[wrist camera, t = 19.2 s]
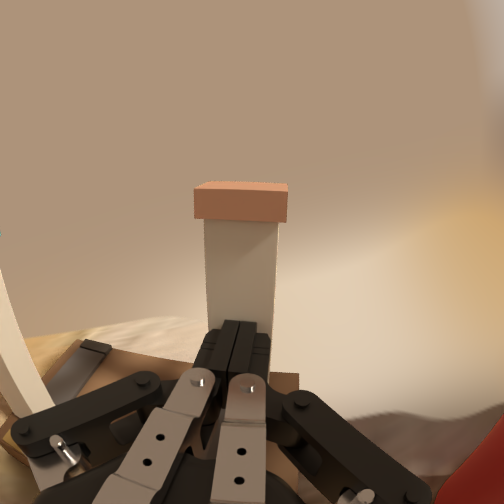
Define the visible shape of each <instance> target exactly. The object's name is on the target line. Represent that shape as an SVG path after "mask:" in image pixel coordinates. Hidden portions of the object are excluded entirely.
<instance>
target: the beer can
mask: <svg viewBox="0 0 504 504" xmlns="http://www.w3.org/2000/svg"><path fill="white" fill-rule="evenodd" d="M434 504H504V414H503V415H502V417H501V418H500V419H499V421H498V422H497V423H496V425H495V426H494V427H493V429H492V430H491V431H490V432H489V434H488V435H487V436H486V437H485V439H484V440H483V441H482V442H481V444H480V445H479V446H478V447H477V448H476V449H475V451H474V452H473V453H472V454H471V455H470V456H469V457H468V458H467V460H466V461H465V462H464V463H463V464H462V465H461V466H460V467H459V468H458V469H457V470H456V471H455V472H454V473H453V474H452V475H451V476H450V477H449V478H448V479H447V480H446V482H445V483H444V485H443V486H442V487H441V489H440V490H439V491H438V494H437V497H436V500H435V502H434Z"/></svg>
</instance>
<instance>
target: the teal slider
mask: <svg viewBox="0 0 504 504" xmlns="http://www.w3.org/2000/svg"><path fill="white" fill-rule="evenodd" d="M0 236H1V233H0ZM0 392H1V393H2V395H3V397H4V398H5V400H6V402H7V403H8V405H9V406H10V408H11V409H12V411H13V412H14V414H15V415H16V416H18V417H19V418H23V417H26V416H29V415H32V414H34V413H37V412H40V411H43V410H45V409H48V408H51V407H53V406H55V404H54V402H53V401H52V399H51V397H50V395H49V393H48V391H47V389H46V387H45V386H44V384H43V382H42V380H41V378H40V376H39V373H38V371H37V369H36V367H35V365H34V363H33V361H32V358H31V356H30V354H29V352H28V349H27V347H26V344H25V342H24V340H23V337H22V335H21V332H20V329H19V327H18V324H17V321H16V319H15V316H14V313H13V310H12V307H11V304H10V301H9V298H8V294H7V292H6V288H5V285H4V281H3V277H2V273H1V270H0Z"/></svg>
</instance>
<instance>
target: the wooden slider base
mask: <svg viewBox="0 0 504 504" xmlns="http://www.w3.org/2000/svg"><path fill="white" fill-rule="evenodd" d="M193 364H194V363H187V362H181V361H175V360H169V359H163V358H158V357H152V356H147V355H142V354H137V353H132V352H127V351H123V350H118V349H114V348H112V346H111V345H109V344H105V343H100V342H96V341H92V340H88V339H85V340H84V341H81V340H78V339H77V340H76V341H75V342H74V343H73V344H72V345H71V346H70V347H69V348H68V349H67V350H66V352H65V353H64V354H63V355H62V356H61V357H60V358H59V359H58V360H57V361H56V363H55V364H54V365H53V366H52V367H51V368H50V369H49V370H48V371H47V373H46V374H45V375H44V376H43V377H42V378H41V380H42V382H43V384H44V386H45V387H46V389H47V391H48V393H49V395H50V397H51V399H52V401H53V402H54V404H55V406H56V405H59V404H61V403H64V402H66V401H69V400H71V399H74V398H76V397H79V396H81V395H84V394H86V393H89V392H91V391H94V390H96V389H99V388H101V387H103V386H106V385H108V384H110V383H113V382H115V381H117V380H120V379H122V378H124V377H127V376H129V375H131V374H134V373H136V372H139V371H151V372H154V373H156V374H157V375H158V376H159V378H160V381H162V380H176V379H179V378H180V377H181V375H182V374H183V373H184V372H185V371H187V370H189V369H192V366H193ZM269 386H270V387H271V388H272V389H274V390H275V391H277V392H279V393H282V394H286V395H287V394H288V393H290V392H292V391H296V390H299V374H298V373H282V372H270V373H269ZM225 411H226V409H222V408H221V411H220V415H219V423H218V426H217V428H216V431H215V434H214V437H213V439H212V442H211V445H210V447H209V450H208V453H207V456H206V460H208V459H216V457H217V451H218V444H219V437H220V430H221V424H222V421H224V418H225ZM135 412H136V410H135V411H133V412H131V413H129V414H127V415H125V416H122V417H120V418H118V419H116V420H114V421H112V422H111V424H112V423H114V422H116V421H118V420H121V419H123V418H125V417H127V416H129V415H131V414H133V413H135ZM18 419H20V418H19V417H18V416H16V415H15V414H14V412H13V413H12V414H11V415H10V416H9V418H8V419H7V420H6V421H5V423H4V424H3V425H2V426H1V428H0V444H1V445H2V446H3V447H4V448H5V450H6V451H7V452H8V453H9V454H10V455H12V456H13V457H15V458H16V459H18V460H19V461H20V462H22V463H23V464H25V465H26V466H28V467H30V464H29V461H28V459H27V457H26V456H25V455H24V454H23V453H22V451H21V449H20V448H19V447H18V446H17V444H16V443H15V442H14V441H13V439H12V437H11V434H10V431H11V427H12V425H13V424H14V422H16V421H17V420H18ZM104 463H105V462H104ZM102 464H103V463H102ZM100 465H101V464H100ZM98 466H99V465H98ZM95 467H97V466H95ZM30 468H31V467H30ZM93 468H94V467H93ZM91 469H92V468H91ZM266 470H267V471H270V472H272V473H274V474H276V475H278V476H279V477H280V478H282V479H283V480H284V481H285V482H287V483H288V484H289V485H290V487H291V488H292V489H293V490H294V491H295V492H296V494H298V469H297V468H296V467H295V466H294V465H293V464H292V462H291V461H290V460H289V459H288V458H287V457H286V456H285V455H284V454H283V453H282V452H281V450H280V449H279V448H278V446H277V443H274V442H271V441H268V440H266Z"/></svg>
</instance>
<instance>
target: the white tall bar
mask: <svg viewBox="0 0 504 504" xmlns="http://www.w3.org/2000/svg"><path fill="white" fill-rule="evenodd" d="M287 197H288V184H284V183H262V182H231V181H230V182H228V181H208V182H206V183H204V184H202V185H200V186H198V187H196V188H194V218H195V219H196V218H197V219H204V245H205V272H206V294H207V312H208V328H209V331H211V330H212V329H221V328H222V325H223V322H224V320H225V319H226V320H237V321H249V322H257V333H267V334H268V336H269V338H270V340H271V348H272V334H273V320H274V305H275V289H276V273H277V255H278V236H279V222H284V223H286V217H287ZM271 348H270V361H271ZM270 361H269V372H268V381H267V382H268V384H269V373H270Z"/></svg>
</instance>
